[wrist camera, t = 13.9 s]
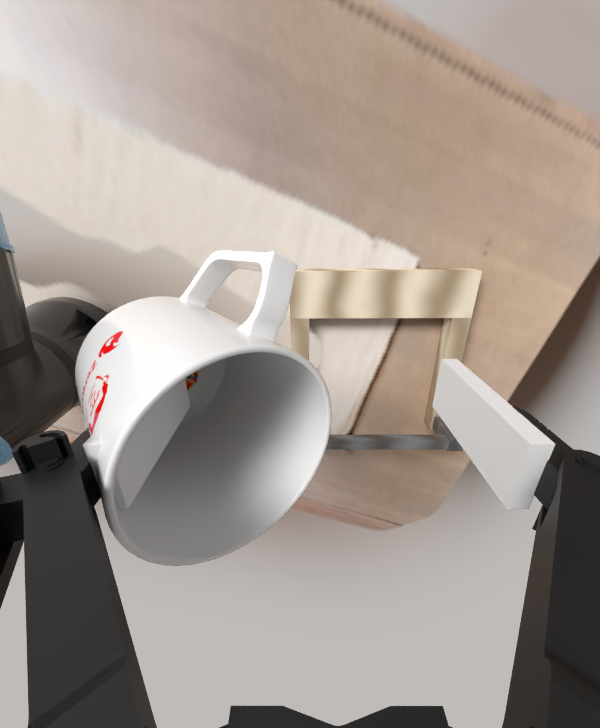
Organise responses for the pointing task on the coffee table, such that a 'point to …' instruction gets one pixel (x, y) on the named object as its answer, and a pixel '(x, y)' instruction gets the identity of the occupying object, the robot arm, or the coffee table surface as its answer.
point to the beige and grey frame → (389, 300)
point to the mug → (205, 414)
